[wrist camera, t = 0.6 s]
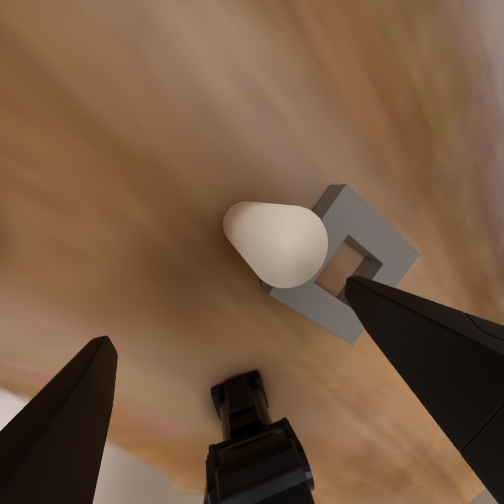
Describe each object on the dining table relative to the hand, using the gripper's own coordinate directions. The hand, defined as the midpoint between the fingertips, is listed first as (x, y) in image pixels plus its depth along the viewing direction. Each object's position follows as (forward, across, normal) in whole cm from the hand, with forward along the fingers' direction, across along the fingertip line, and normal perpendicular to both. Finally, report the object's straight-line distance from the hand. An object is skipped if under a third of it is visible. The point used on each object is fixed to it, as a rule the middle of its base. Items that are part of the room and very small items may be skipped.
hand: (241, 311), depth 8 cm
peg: (+16, -4, +4) cm, 17 cm away
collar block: (+14, -15, +10) cm, 23 cm away
